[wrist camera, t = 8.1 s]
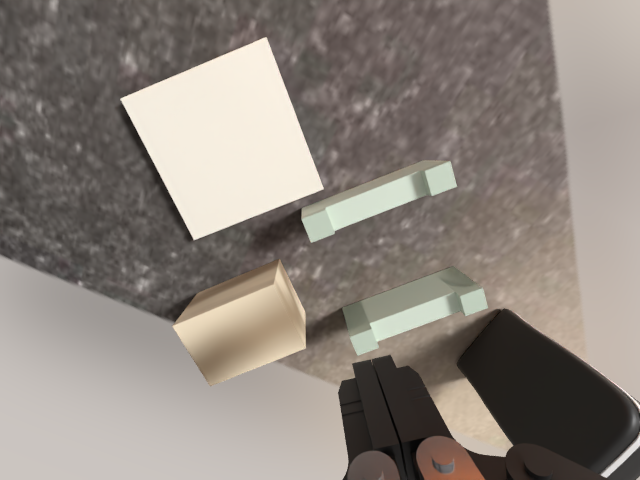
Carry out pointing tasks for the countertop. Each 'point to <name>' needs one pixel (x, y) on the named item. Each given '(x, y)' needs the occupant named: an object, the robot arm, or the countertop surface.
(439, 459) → the robot arm
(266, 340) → the block
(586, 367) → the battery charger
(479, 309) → the rails
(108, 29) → the countertop surface
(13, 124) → the countertop surface
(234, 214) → the plate
